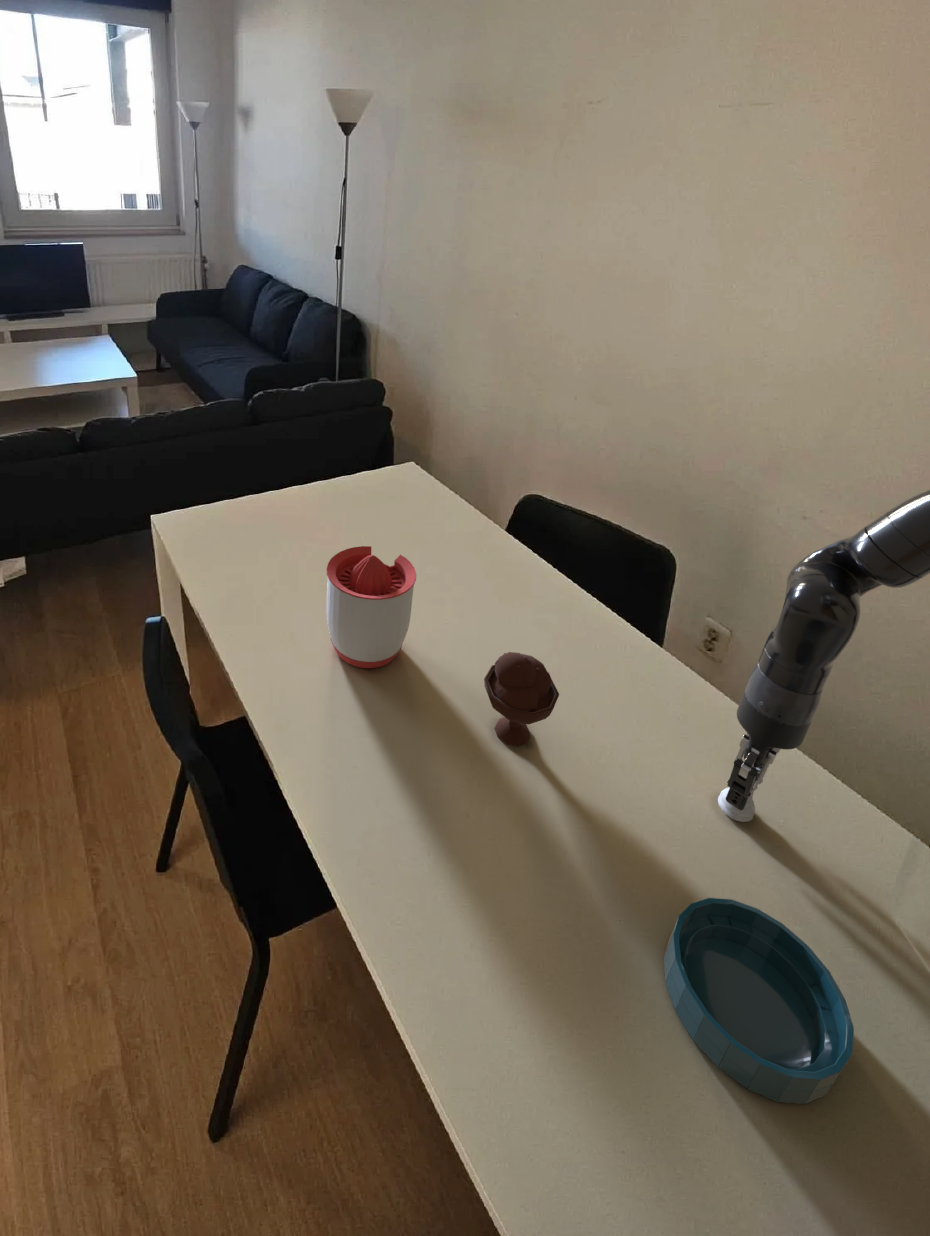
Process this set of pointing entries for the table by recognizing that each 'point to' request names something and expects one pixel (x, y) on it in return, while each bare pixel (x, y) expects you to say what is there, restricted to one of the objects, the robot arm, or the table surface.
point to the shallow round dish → (757, 1000)
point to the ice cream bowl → (519, 695)
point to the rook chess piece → (733, 811)
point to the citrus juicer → (368, 606)
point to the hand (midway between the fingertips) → (741, 792)
